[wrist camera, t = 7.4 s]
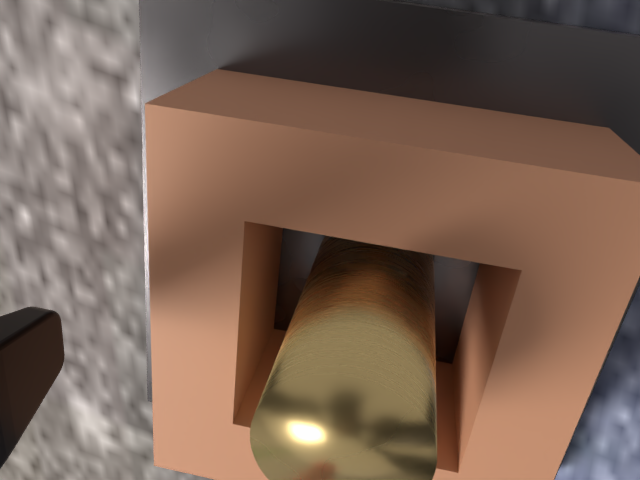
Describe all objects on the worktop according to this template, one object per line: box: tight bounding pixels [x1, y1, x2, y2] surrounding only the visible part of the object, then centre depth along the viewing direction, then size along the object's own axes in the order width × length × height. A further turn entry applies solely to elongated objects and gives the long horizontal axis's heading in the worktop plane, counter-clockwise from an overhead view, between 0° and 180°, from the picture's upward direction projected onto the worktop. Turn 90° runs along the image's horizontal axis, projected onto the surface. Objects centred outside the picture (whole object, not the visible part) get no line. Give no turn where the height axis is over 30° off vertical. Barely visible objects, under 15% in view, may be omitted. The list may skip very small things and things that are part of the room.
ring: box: [145, 69, 640, 480], centre depth 10 cm, size 7×7×3 cm
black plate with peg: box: [139, 0, 640, 480], centre depth 10 cm, size 10×10×6 cm
